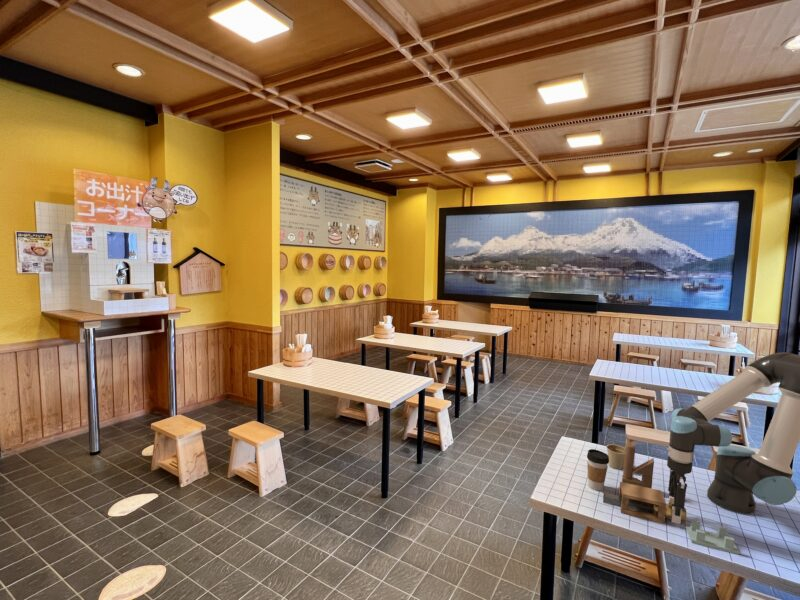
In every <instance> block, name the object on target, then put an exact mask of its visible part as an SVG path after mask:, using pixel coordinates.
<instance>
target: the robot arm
mask: <svg viewBox="0 0 800 600" xmlns="http://www.w3.org/2000/svg"><path fill="white" fill-rule="evenodd" d="M778 383H779V384H778ZM774 384H778V389H779V391H780V392H781V396H780V397H779V401H778V402H777V405H776V408H775V410H774V413H773V414H772V415H773V416H772V419H771V420H770V423H769V426H768V429H767V430H766V433H765V436H764V439H763V441H762V443H761V446H760V449H759V451H758V453H756V451H754V450H752V449H750V448H747V447H743V446H740V445H733V444H732V441H733V435H732V432H731V430H730V429H729V428H728V427H727V426H725V425H721V424H714V423H713V424H712V423H710V421H711V420H713V419H714V418H716V417H718V416H720V415H721V414H723V413H724V412H725V411H727V410H729V409H731V408H732V407H733V406H735V405H737V404H738V403H740V402H741V401H743V400H745V399H746V398H747V397H749V396H750V395H752V394H754V393H756V392H757V391H758V390H760V389H761V388H763V387H766V388H768V387H771V386H772V385H774ZM670 419H671V424H670V428H669V429H670V435H669V444H668V447H666V450H667V453H668V454H667V455H668V456H667V462H666V466H667V467H668V468H669V480H668V488H667V490H668V495H669V497H668V504H671V505H672V506H673V508H672V518H671V519H670V520H671V521H670V522H671V523H673V524H679V525H681V513H682V509H684V508H685V506H686V496H687V495H686V493H687V489H688V484H687V483H686V482H687V477H686V476H685V475H687V474H691V473H692V472H693V461H694V456H695V455H694V454H695V447H696V446H705V447H707V446H708V447H716V448H717V451H716V459H715V460H716V461H715V467H714V468H715V470H714V478H713V480H712V482H711V483H710V485H709V486H708V488H707V493H706V497H707V499H708V500H709V501H711V502H712V503H713V504H716V505H717V506H719V507H720V508H722V509H726V510H728V511H731V512H735V513H738V514H746V515H747V514H748V515H749V514H754V513H755V512H756V507H757V505H756V502H755V498H754V497H756V498H757V499H758V500H761V501H763V502H764V503H766V504H769V505H771V506H772V505H773V506H780V505H783V504H787V503H790V502H791V501H793V499H794V497H796V495H797V491H798V490H797V489H798V488H797V486H796V483H795V482H794V481H793V479H792V478H793V474H794V471H793V470H792V468H791V463H792V462H793V461H792V460H793V459H794V456H795V454H796V452H797V451H796V450H797V448H798V446H799V443H800V354H799V355H798V354H795V353H791V352H783V351H782V352H775V353H771V354H768V355H765V356H763V357H760V358H758V359H756V360H755V361H752V362H751V363H749V364H748V365H746V366H745V367H744V371H742V372H741V373H740V374H738V375H736V376H734V377H733V378H731V380H729V381H727V382H726V383H724V384H723V385H721V386H720V387H718V388H717V389H715V390H713V391H712V392H711V393H709V394H708V395H706V396H704V397H703V398H701V399H700V400H698V401H697V402H695V403H694V404H692V405H690V406H689V407H688V408H684V407H683V408H682V407H680V408H675V409H674V410H673V411H672V412H671V415H670Z"/></svg>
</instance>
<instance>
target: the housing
mask: <svg viewBox="0 0 800 600" xmlns="http://www.w3.org/2000/svg"><path fill="white" fill-rule="evenodd" d="M618 487H619V488H618V489H619V490H618V496H620V497H622V502H621V507H620V512H621V513H622V514H624V515H629V516H633V517H637V518H641V519H645V520H650V521H652V522H653V521H654V522H658V523H662V524H665V519H666V518H665V510H666V503H667V502H666V500H665V498H664V495H663V492H662V491H661V490H660V489H655V488H652V489H651V488H647V487H642V486H637V485H633V484H628V483H623V482H622V481H619V486H618ZM628 499H633V500H637V501H641V502H645V503H649V504H656V505H658V515H653V514H649V513H645V512H641V511H636V510H632V509H628Z"/></svg>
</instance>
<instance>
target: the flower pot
mask: <svg viewBox="0 0 800 600" xmlns="http://www.w3.org/2000/svg"><path fill="white" fill-rule="evenodd" d="M605 448H606V452H607V455H608V456H609V463H608V464H607V465H608V466H609V467H610V468H612V469H614V470H617V469H618V470H624V458H625V447H624V446H621V445H618V444H607V445H606V446H605Z"/></svg>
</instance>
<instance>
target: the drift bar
mask: <svg viewBox="0 0 800 600" xmlns="http://www.w3.org/2000/svg"><path fill="white" fill-rule="evenodd" d="M602 502H603V503H604V504H608V505H611V506H616V507H620V508H621V502H622V497H620V496H619V495H615V494H612V493H607V492H603V494H602ZM628 509H632V510H636V511H641V512H645V513H649V514H653V512H654V507H653V504H649V503H645V502H641V501H637V500H633V499H628Z"/></svg>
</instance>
